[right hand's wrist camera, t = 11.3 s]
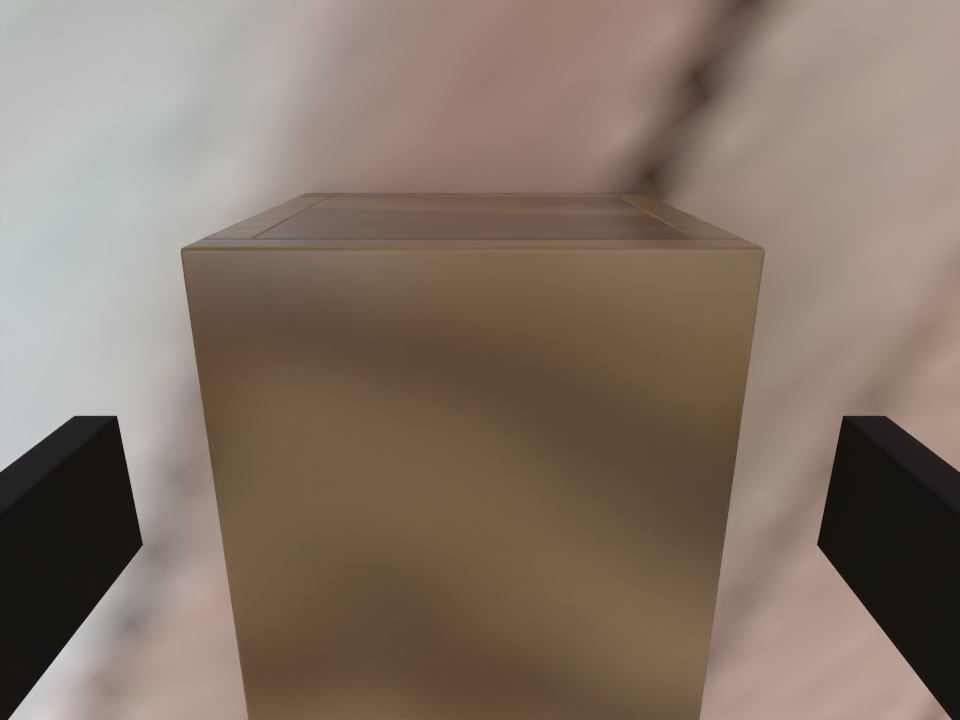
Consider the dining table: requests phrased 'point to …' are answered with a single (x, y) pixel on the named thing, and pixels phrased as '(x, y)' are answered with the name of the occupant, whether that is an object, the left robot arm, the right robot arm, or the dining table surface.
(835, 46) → the dining table surface
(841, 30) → the dining table surface
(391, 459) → the wooden recessed-top box
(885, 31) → the dining table surface
